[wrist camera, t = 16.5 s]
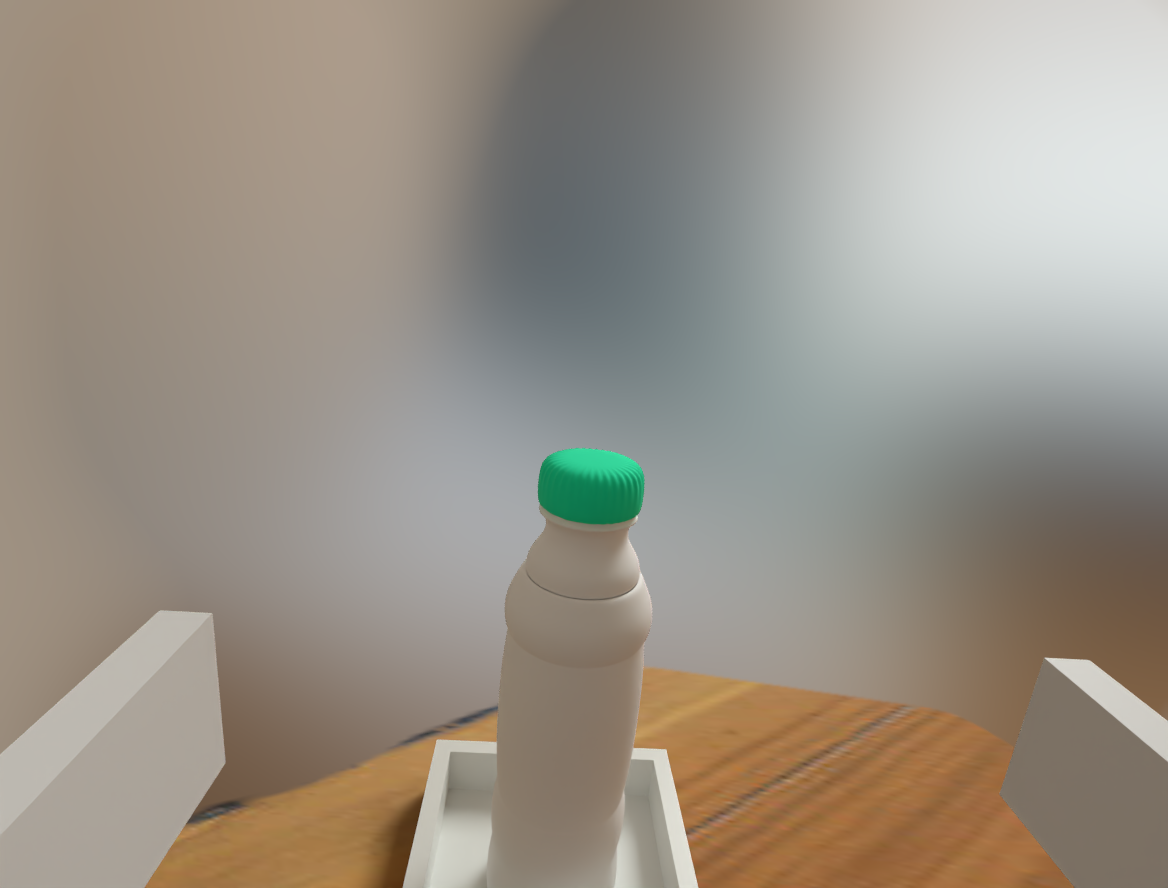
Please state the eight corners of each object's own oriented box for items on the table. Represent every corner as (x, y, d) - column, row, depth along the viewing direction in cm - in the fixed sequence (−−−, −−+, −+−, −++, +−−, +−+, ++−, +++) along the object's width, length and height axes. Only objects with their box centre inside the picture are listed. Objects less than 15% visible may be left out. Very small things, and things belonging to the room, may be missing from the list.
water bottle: (509, 974, 32) (551, 492, 25) (470, 852, 38) (494, 438, 31) (636, 922, 35) (705, 480, 28) (580, 818, 41) (625, 434, 34)
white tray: (659, 792, 44) (666, 749, 43) (712, 1053, 30) (723, 998, 29) (435, 783, 43) (436, 739, 42) (377, 1050, 29) (378, 993, 28)
